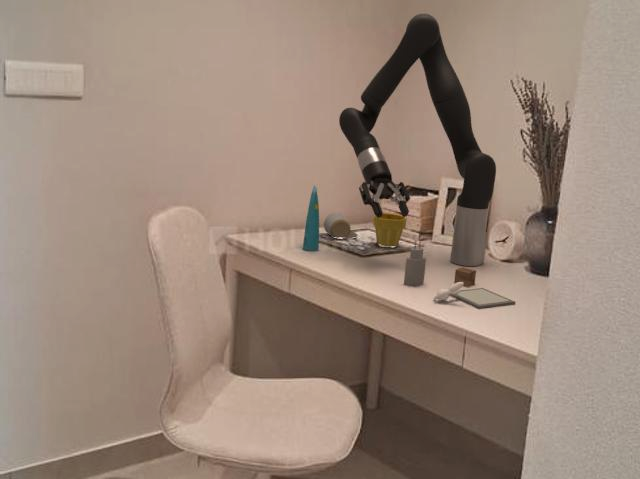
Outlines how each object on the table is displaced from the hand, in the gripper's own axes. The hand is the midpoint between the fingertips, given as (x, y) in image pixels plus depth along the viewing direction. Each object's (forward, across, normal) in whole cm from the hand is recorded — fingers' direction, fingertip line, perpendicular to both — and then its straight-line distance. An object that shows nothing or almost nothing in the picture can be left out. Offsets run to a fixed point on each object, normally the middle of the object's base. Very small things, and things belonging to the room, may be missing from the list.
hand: (393, 215), depth 195 cm
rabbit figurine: (+31, 0, -8) cm, 32 cm away
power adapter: (+20, 0, +3) cm, 20 cm away
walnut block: (+22, +14, 0) cm, 27 cm away
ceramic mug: (-17, +9, +40) cm, 44 cm away
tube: (-8, -9, +32) cm, 34 cm away
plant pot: (-7, +18, +30) cm, 36 cm away
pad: (+31, +9, -8) cm, 33 cm away
